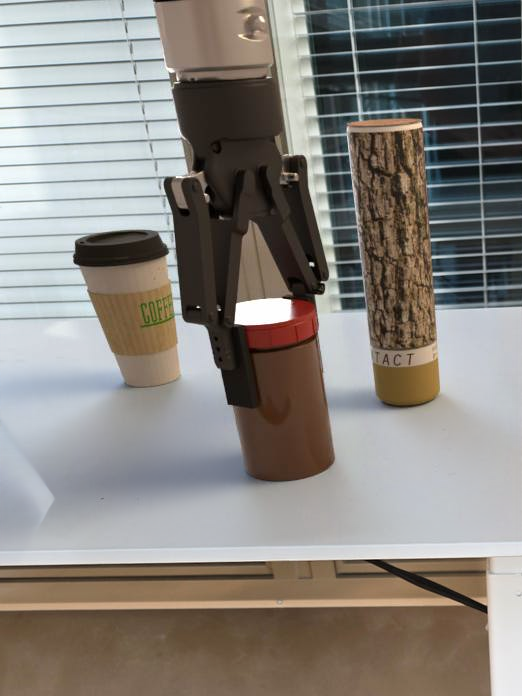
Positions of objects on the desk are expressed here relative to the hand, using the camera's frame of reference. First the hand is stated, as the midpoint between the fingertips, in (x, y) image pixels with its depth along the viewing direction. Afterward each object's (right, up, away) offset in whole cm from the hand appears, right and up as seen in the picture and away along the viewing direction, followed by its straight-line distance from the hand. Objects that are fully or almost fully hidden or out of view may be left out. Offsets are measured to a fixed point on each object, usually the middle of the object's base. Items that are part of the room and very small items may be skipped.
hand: (277, 387), depth 76 cm
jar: (0, -6, +4) cm, 7 cm away
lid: (0, +5, -3) cm, 6 cm away
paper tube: (+10, +4, +17) cm, 20 cm away
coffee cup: (-20, +8, +26) cm, 34 cm away
